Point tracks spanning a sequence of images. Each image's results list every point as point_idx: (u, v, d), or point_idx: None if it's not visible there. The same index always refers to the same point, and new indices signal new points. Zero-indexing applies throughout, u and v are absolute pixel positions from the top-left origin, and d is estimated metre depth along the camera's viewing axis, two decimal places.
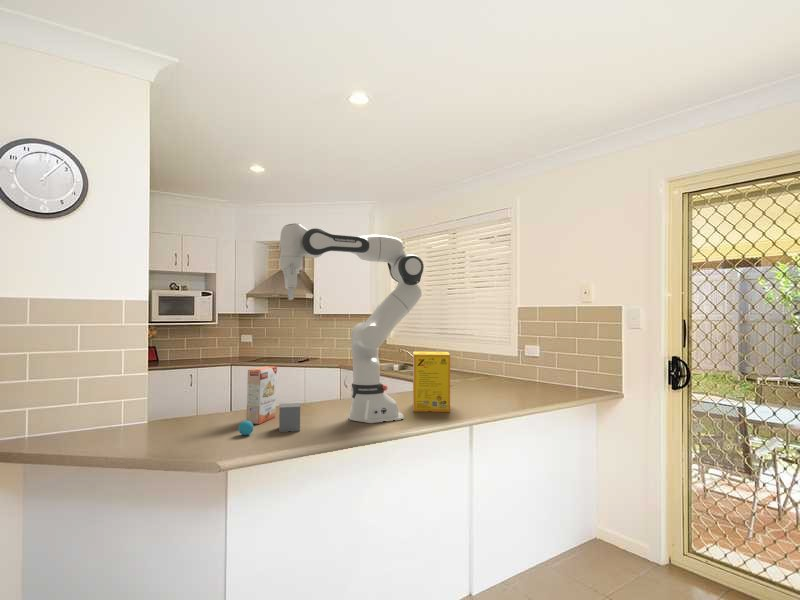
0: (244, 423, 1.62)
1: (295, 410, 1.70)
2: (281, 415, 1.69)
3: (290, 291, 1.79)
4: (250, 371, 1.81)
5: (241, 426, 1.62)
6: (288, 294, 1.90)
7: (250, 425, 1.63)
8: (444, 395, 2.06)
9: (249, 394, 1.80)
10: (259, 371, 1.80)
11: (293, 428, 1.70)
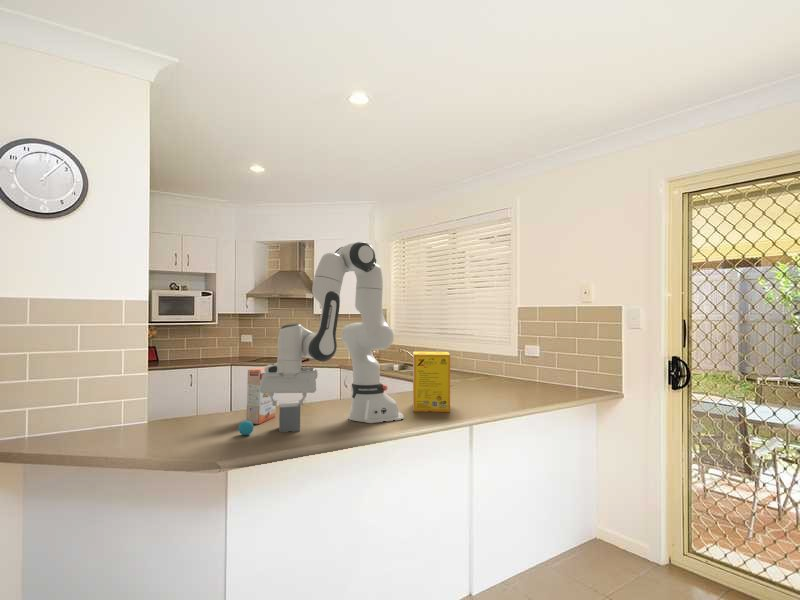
0: (244, 423, 1.62)
1: (295, 410, 1.70)
2: (281, 415, 1.69)
3: (305, 396, 1.74)
4: (250, 371, 1.81)
5: (241, 426, 1.62)
6: (273, 399, 1.71)
7: (250, 425, 1.63)
8: (444, 395, 2.06)
9: (249, 394, 1.80)
10: (259, 371, 1.80)
11: (293, 428, 1.70)
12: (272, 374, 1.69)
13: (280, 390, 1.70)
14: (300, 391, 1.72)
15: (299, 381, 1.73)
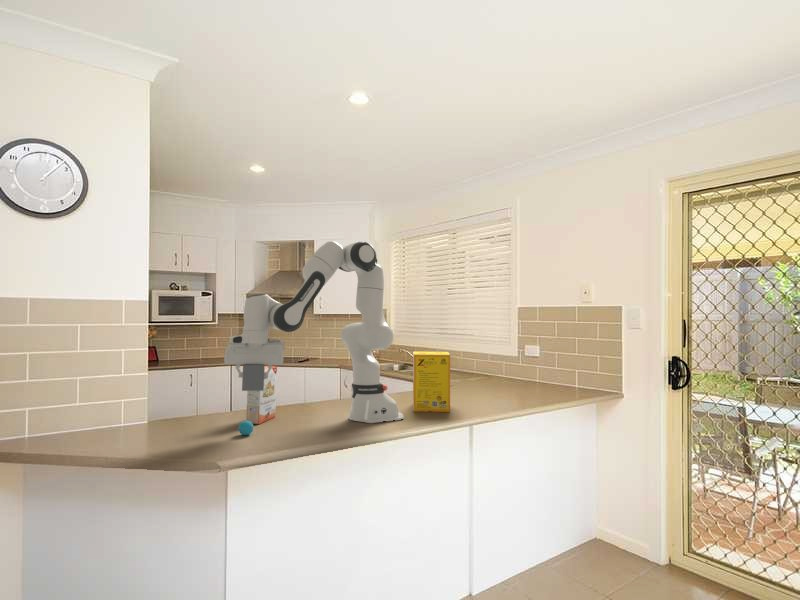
0: (244, 423, 1.62)
1: (259, 369, 1.65)
2: (244, 373, 1.63)
3: (270, 369, 1.69)
4: None
5: (241, 426, 1.62)
6: (239, 371, 1.66)
7: (250, 425, 1.63)
8: (444, 395, 2.06)
9: (249, 394, 1.80)
10: None
11: (257, 387, 1.64)
12: (237, 345, 1.64)
13: (245, 361, 1.65)
14: (266, 363, 1.67)
15: (266, 353, 1.68)
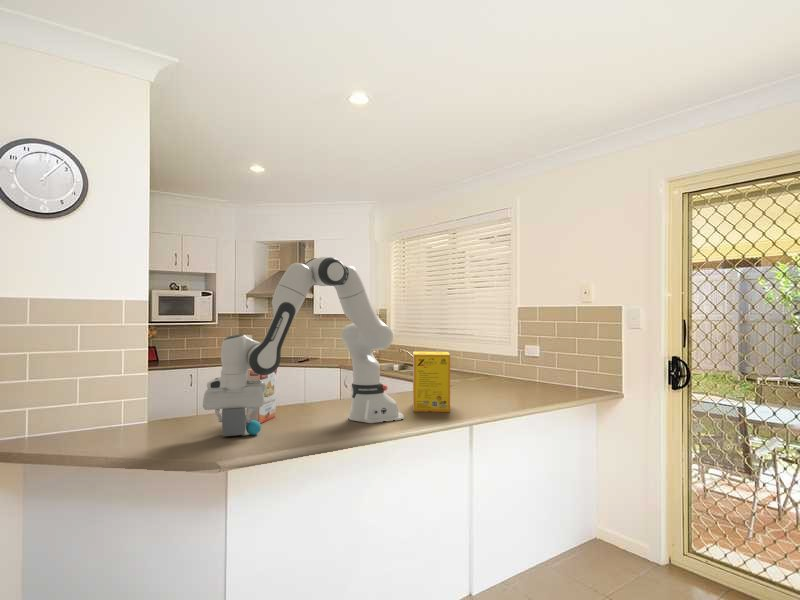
0: (257, 424, 1.63)
1: (239, 413, 1.60)
2: (224, 418, 1.59)
3: (251, 411, 1.64)
4: (250, 371, 1.81)
5: (253, 423, 1.63)
6: (219, 415, 1.61)
7: (258, 430, 1.63)
8: (444, 395, 2.06)
9: None
10: None
11: (238, 432, 1.60)
12: (215, 389, 1.59)
13: (225, 406, 1.61)
14: (247, 406, 1.63)
15: (245, 396, 1.63)
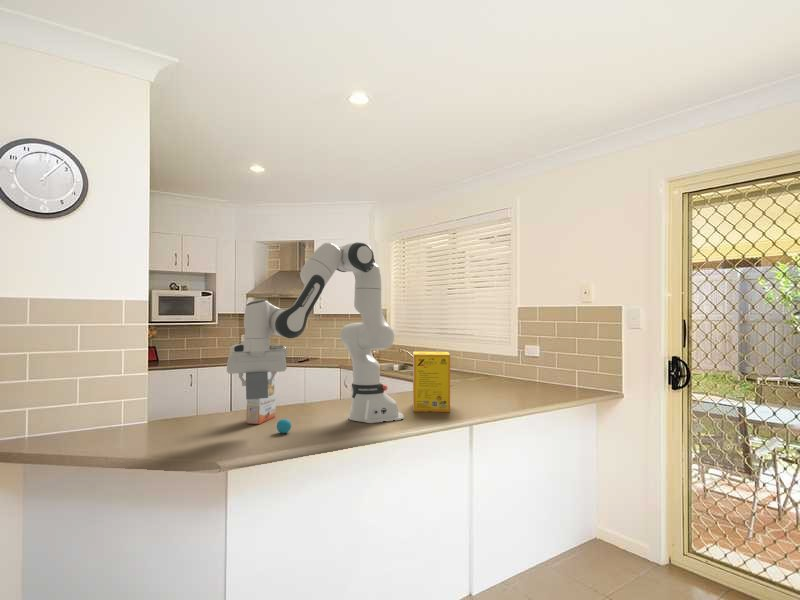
0: (278, 426, 1.65)
1: (262, 376, 1.63)
2: (247, 382, 1.61)
3: None
4: None
5: (279, 430, 1.65)
6: (243, 379, 1.64)
7: (282, 421, 1.65)
8: (444, 395, 2.06)
9: None
10: None
11: (261, 395, 1.63)
12: (239, 353, 1.62)
13: (248, 370, 1.63)
14: (269, 370, 1.65)
15: (268, 360, 1.65)
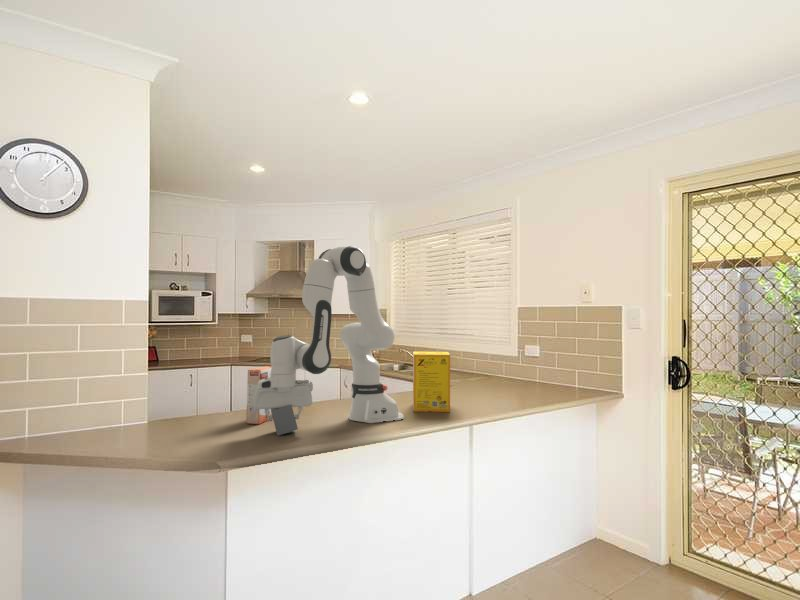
0: None
1: (287, 410, 1.64)
2: (274, 419, 1.63)
3: None
4: (250, 371, 1.81)
5: None
6: (268, 415, 1.65)
7: None
8: (444, 395, 2.06)
9: (249, 394, 1.80)
10: (259, 371, 1.80)
11: (291, 428, 1.64)
12: (266, 389, 1.63)
13: (275, 405, 1.65)
14: (296, 405, 1.67)
15: (294, 395, 1.67)
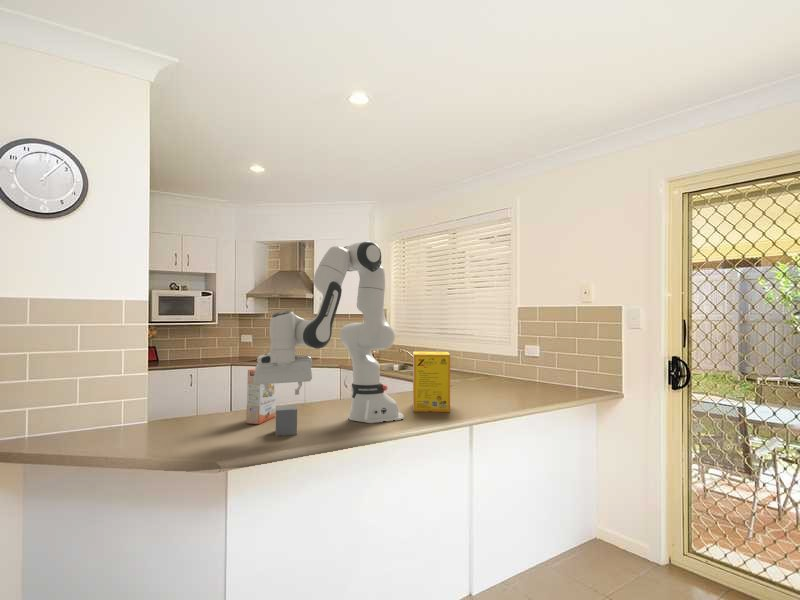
0: None
1: (292, 413, 1.65)
2: (277, 418, 1.63)
3: (301, 385, 1.69)
4: (250, 371, 1.81)
5: None
6: (268, 390, 1.66)
7: None
8: (444, 395, 2.06)
9: (249, 394, 1.80)
10: None
11: (290, 432, 1.64)
12: (265, 364, 1.64)
13: (275, 380, 1.65)
14: (295, 380, 1.67)
15: (294, 371, 1.68)
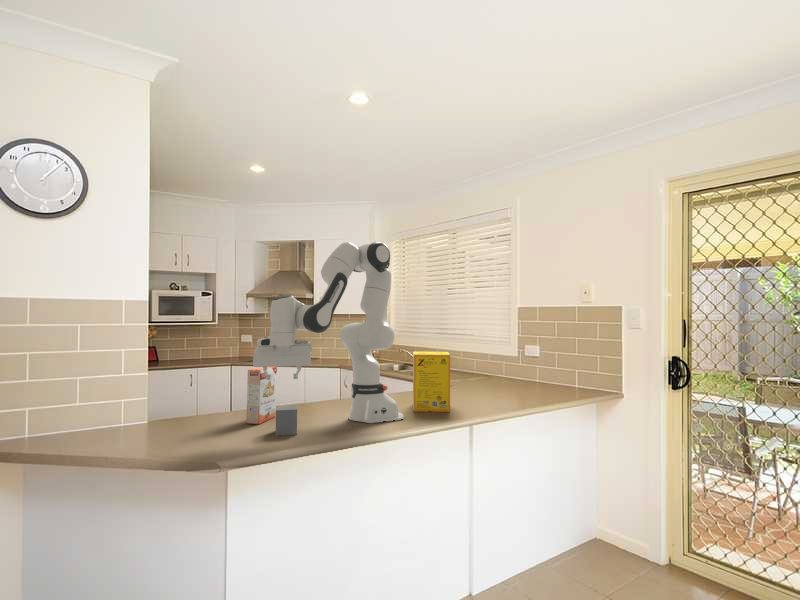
0: None
1: (292, 413, 1.65)
2: (277, 418, 1.63)
3: None
4: (250, 371, 1.81)
5: None
6: (267, 373, 1.66)
7: None
8: (444, 395, 2.06)
9: (249, 394, 1.80)
10: (259, 371, 1.80)
11: (290, 432, 1.64)
12: (265, 347, 1.64)
13: (274, 363, 1.65)
14: (294, 364, 1.67)
15: (293, 354, 1.67)
